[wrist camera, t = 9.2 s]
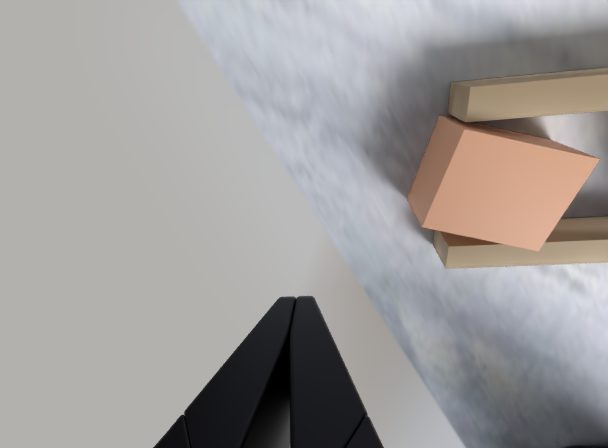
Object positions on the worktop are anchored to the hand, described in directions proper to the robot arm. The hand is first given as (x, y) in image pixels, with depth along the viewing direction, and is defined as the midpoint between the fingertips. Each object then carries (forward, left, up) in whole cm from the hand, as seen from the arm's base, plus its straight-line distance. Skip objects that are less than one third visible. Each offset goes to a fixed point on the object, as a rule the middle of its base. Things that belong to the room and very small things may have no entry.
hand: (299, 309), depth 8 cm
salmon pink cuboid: (0, -7, -9) cm, 11 cm away
